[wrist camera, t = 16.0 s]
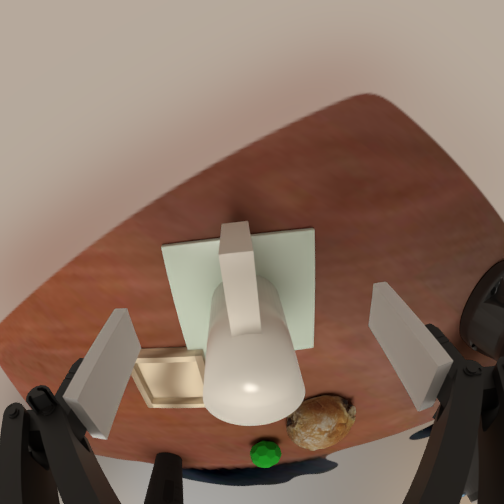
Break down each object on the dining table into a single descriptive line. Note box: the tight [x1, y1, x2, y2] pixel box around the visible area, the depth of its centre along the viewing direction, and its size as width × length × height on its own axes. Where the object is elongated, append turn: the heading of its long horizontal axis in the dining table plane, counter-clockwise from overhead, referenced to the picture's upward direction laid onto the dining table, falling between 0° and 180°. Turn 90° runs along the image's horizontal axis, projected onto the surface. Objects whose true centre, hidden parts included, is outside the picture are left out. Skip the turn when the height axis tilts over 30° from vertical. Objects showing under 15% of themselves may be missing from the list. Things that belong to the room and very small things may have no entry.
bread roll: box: [286, 395, 356, 451], centre depth 36 cm, size 10×10×8 cm
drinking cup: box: [144, 453, 183, 504], centre depth 33 cm, size 8×8×20 cm
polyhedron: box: [250, 441, 281, 468], centre depth 38 cm, size 5×5×5 cm
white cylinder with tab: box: [203, 221, 305, 426], centre depth 22 cm, size 13×7×12 cm, turn 5°
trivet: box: [161, 228, 315, 360], centre depth 29 cm, size 14×14×1 cm
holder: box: [131, 347, 206, 408], centre depth 32 cm, size 9×9×2 cm
